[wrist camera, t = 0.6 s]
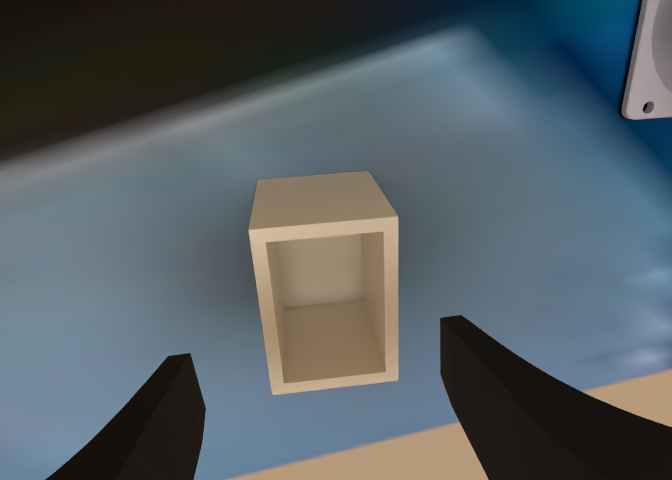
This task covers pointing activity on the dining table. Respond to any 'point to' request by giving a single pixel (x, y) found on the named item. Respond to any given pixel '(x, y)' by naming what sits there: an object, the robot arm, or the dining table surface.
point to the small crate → (326, 280)
